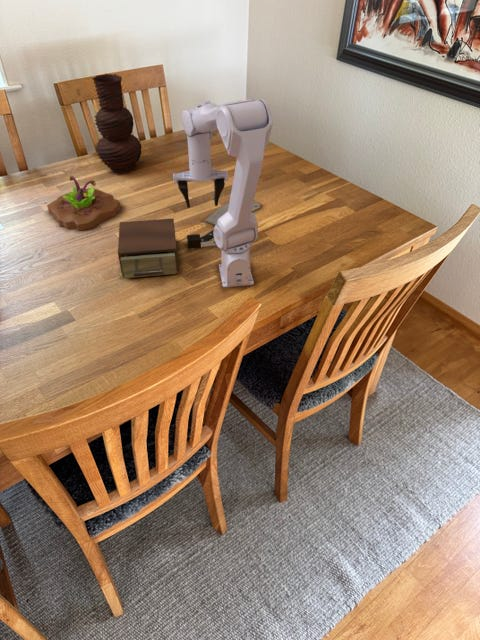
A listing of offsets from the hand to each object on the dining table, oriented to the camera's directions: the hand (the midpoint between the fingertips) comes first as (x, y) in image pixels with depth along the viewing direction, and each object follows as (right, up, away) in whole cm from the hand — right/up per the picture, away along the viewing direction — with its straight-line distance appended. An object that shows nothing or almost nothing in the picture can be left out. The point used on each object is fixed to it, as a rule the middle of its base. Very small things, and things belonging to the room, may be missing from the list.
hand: (202, 205), depth 128 cm
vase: (-32, +22, +37) cm, 54 cm away
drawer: (-13, -18, -6) cm, 23 cm away
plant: (-38, +2, +16) cm, 41 cm away
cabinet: (-14, -15, -2) cm, 21 cm away
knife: (0, -11, +3) cm, 11 cm away
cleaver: (+5, -1, +13) cm, 14 cm away
